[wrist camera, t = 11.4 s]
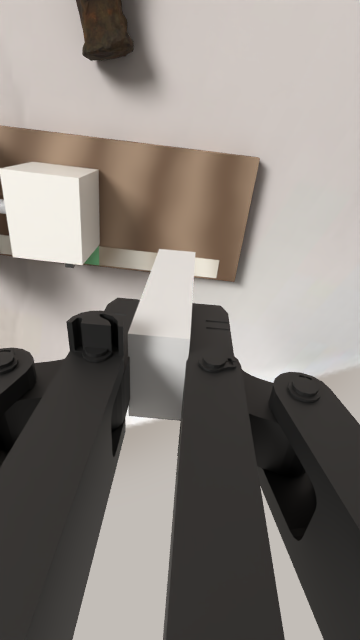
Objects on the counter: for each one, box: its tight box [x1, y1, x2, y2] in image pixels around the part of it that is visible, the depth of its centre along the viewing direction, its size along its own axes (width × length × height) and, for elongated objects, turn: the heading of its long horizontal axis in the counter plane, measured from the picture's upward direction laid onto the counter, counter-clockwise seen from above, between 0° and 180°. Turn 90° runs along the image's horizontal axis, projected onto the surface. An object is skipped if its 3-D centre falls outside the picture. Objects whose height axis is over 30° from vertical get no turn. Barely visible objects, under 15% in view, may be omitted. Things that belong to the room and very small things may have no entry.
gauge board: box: [0, 126, 260, 282], centre depth 29 cm, size 30×12×10 cm, turn 84°
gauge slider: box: [0, 162, 100, 268], centre depth 30 cm, size 9×10×6 cm
